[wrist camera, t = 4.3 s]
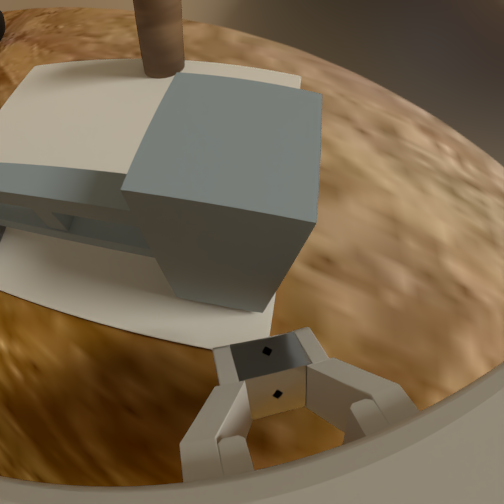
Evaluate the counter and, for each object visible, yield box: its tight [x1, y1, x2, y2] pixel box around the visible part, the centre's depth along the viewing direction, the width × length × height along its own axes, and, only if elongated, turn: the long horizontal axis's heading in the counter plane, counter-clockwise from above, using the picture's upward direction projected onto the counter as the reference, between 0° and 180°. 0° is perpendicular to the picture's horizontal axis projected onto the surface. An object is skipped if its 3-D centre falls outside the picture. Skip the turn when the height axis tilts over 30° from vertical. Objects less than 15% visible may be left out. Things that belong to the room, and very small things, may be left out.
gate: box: [0, 72, 322, 313], centre depth 11 cm, size 21×4×9 cm, turn 81°
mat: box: [0, 59, 301, 350], centre depth 18 cm, size 25×20×1 cm
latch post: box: [133, 0, 185, 79], centre depth 17 cm, size 3×3×10 cm
